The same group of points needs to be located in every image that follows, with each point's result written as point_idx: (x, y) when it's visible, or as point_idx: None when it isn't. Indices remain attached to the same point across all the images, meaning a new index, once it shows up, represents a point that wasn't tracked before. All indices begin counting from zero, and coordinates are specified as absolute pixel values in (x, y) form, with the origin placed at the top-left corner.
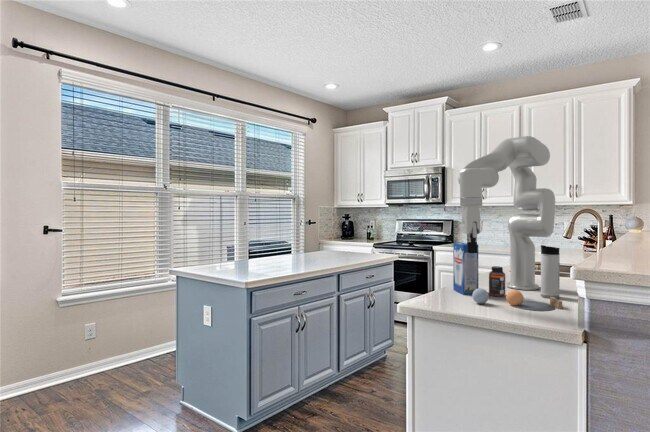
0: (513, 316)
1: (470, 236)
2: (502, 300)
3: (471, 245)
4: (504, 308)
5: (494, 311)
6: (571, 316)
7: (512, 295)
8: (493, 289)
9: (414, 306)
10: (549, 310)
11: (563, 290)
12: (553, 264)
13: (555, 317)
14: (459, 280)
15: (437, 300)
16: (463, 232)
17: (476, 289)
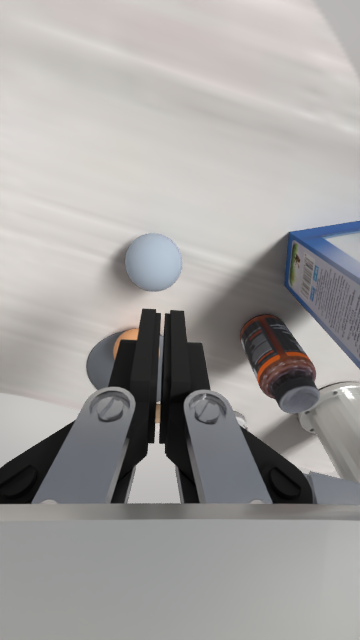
0: (6, 298)
1: (19, 489)
2: (197, 326)
3: (110, 379)
4: (98, 303)
5: (52, 265)
6: (52, 403)
7: (117, 348)
8: (255, 331)
9: None
10: (95, 386)
11: (281, 453)
12: None
13: (32, 377)
14: (354, 241)
15: (207, 70)
16: (191, 522)
17: (152, 257)
